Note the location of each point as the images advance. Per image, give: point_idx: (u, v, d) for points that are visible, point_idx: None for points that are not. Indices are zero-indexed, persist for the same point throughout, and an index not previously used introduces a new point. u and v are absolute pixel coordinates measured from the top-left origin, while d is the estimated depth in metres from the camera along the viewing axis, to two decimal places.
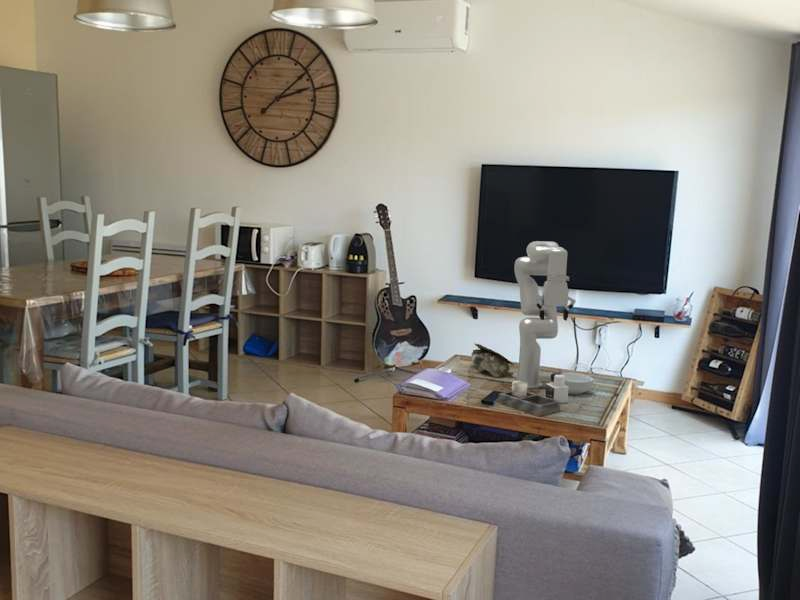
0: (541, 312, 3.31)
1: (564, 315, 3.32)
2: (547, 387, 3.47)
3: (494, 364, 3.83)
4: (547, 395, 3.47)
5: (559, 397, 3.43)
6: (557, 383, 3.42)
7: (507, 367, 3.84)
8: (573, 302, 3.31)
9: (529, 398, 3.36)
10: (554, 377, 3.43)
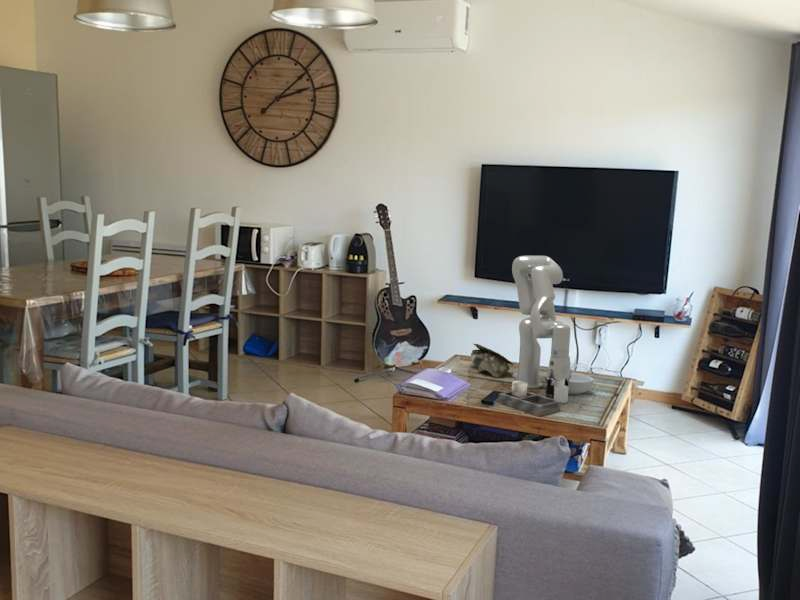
0: None
1: None
2: None
3: (494, 364, 3.83)
4: (547, 395, 3.47)
5: (559, 397, 3.43)
6: (557, 383, 3.42)
7: (507, 367, 3.84)
8: None
9: (529, 398, 3.36)
10: None
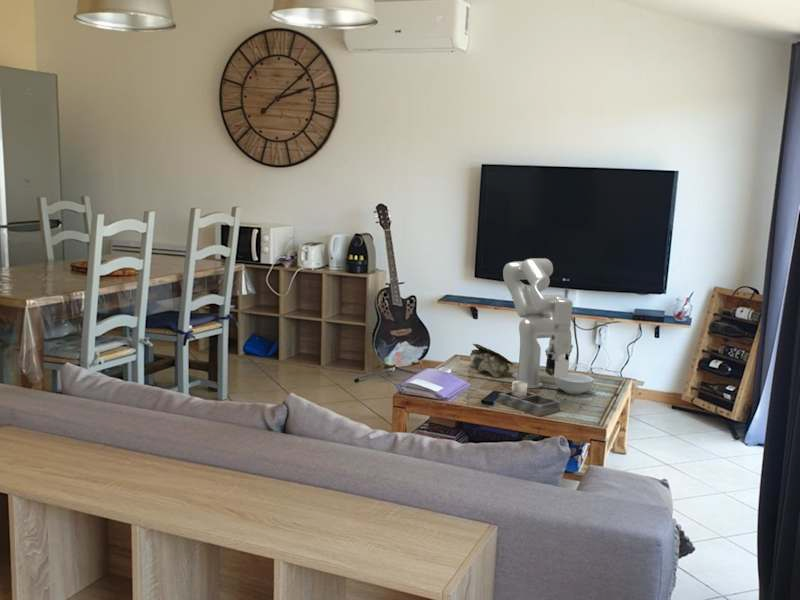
0: None
1: None
2: (547, 361, 3.46)
3: (494, 364, 3.83)
4: (547, 369, 3.46)
5: (559, 371, 3.42)
6: (558, 357, 3.41)
7: (507, 367, 3.84)
8: None
9: (529, 398, 3.36)
10: None
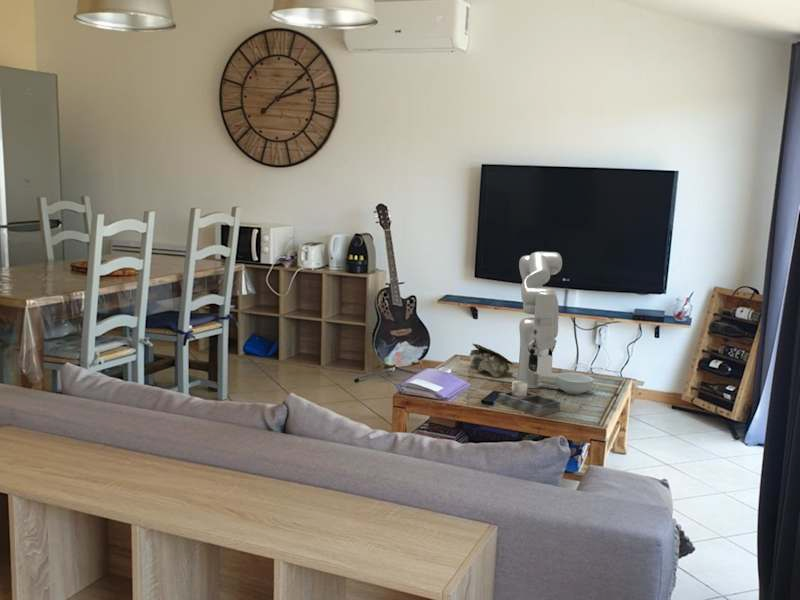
0: None
1: None
2: None
3: (494, 364, 3.83)
4: (530, 366, 3.31)
5: (542, 367, 3.27)
6: (541, 353, 3.26)
7: (507, 367, 3.84)
8: None
9: (529, 398, 3.36)
10: None
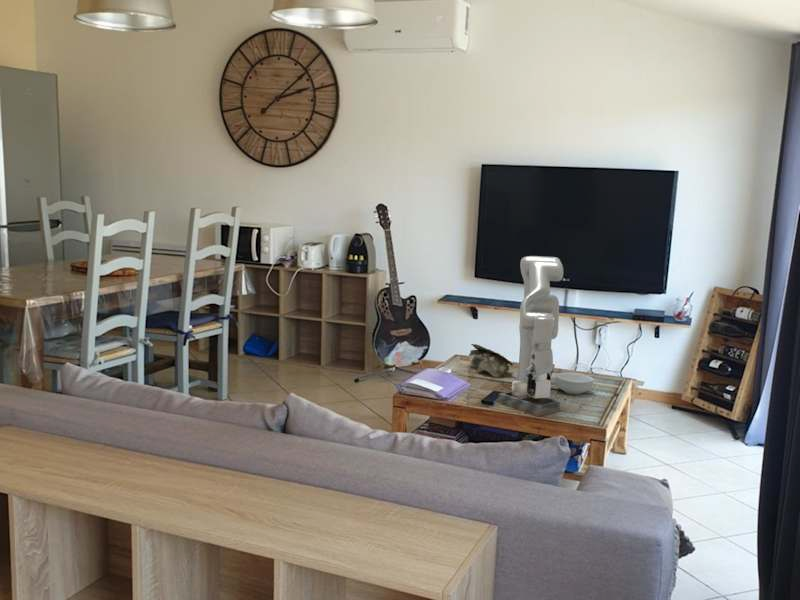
0: None
1: None
2: None
3: (494, 364, 3.82)
4: (528, 390, 3.32)
5: (541, 391, 3.28)
6: (539, 377, 3.28)
7: (507, 367, 3.83)
8: None
9: (529, 398, 3.36)
10: None
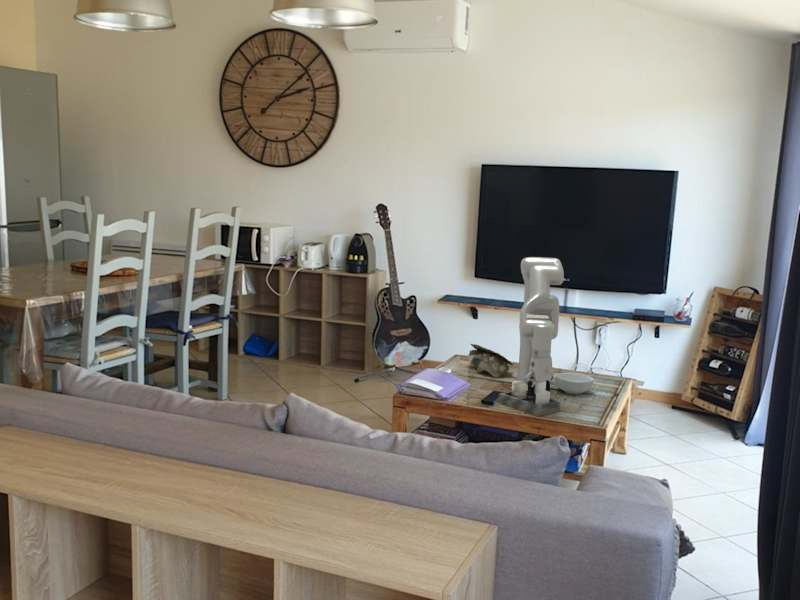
0: None
1: None
2: None
3: (494, 364, 3.82)
4: (528, 401, 3.33)
5: (540, 403, 3.29)
6: (538, 388, 3.29)
7: (507, 367, 3.83)
8: None
9: None
10: None
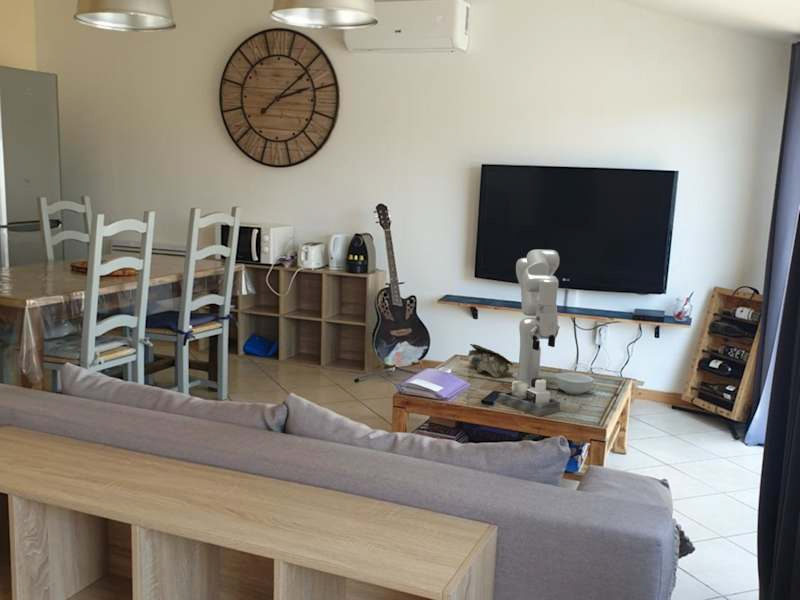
0: None
1: None
2: (527, 393, 3.33)
3: (494, 364, 3.82)
4: (528, 401, 3.33)
5: (540, 403, 3.29)
6: (538, 388, 3.29)
7: (507, 367, 3.83)
8: None
9: None
10: (535, 382, 3.29)
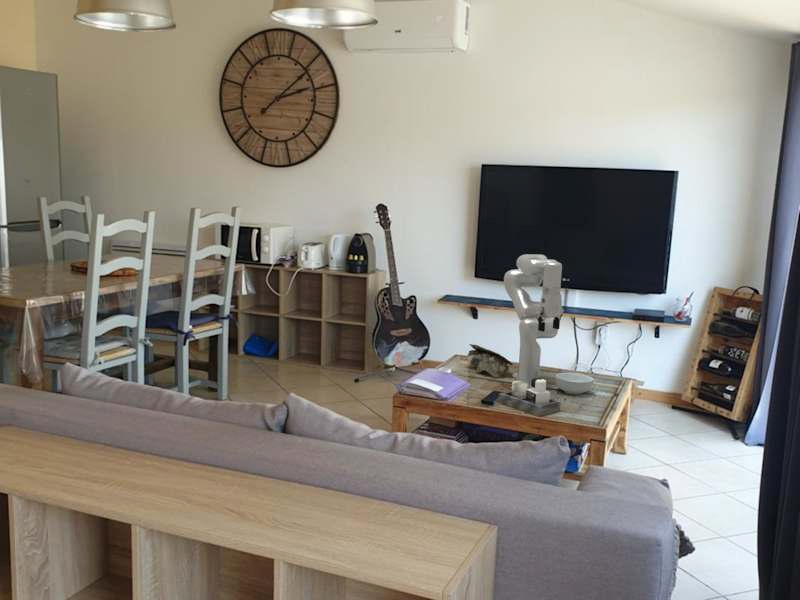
0: None
1: None
2: (527, 393, 3.33)
3: (494, 364, 3.82)
4: (528, 401, 3.33)
5: (540, 403, 3.29)
6: (538, 388, 3.29)
7: (506, 367, 3.83)
8: None
9: None
10: (535, 382, 3.29)
